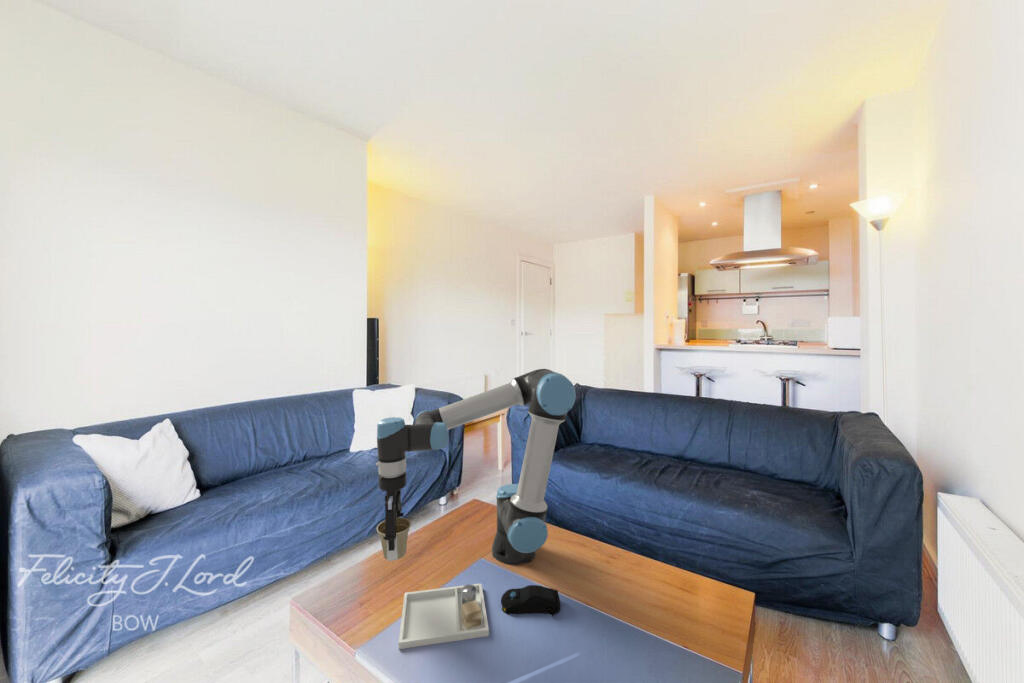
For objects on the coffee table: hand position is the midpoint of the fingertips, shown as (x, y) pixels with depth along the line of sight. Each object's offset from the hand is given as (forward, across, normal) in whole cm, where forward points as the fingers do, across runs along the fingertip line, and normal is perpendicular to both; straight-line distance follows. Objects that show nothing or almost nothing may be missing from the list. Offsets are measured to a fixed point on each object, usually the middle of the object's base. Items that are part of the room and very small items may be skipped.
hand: (394, 549), depth 115 cm
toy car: (+15, +10, +38) cm, 42 cm away
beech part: (+14, +14, +21) cm, 29 cm away
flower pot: (+2, 0, 0) cm, 2 cm away
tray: (+14, +11, +14) cm, 22 cm away
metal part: (+14, +7, +21) cm, 26 cm away
